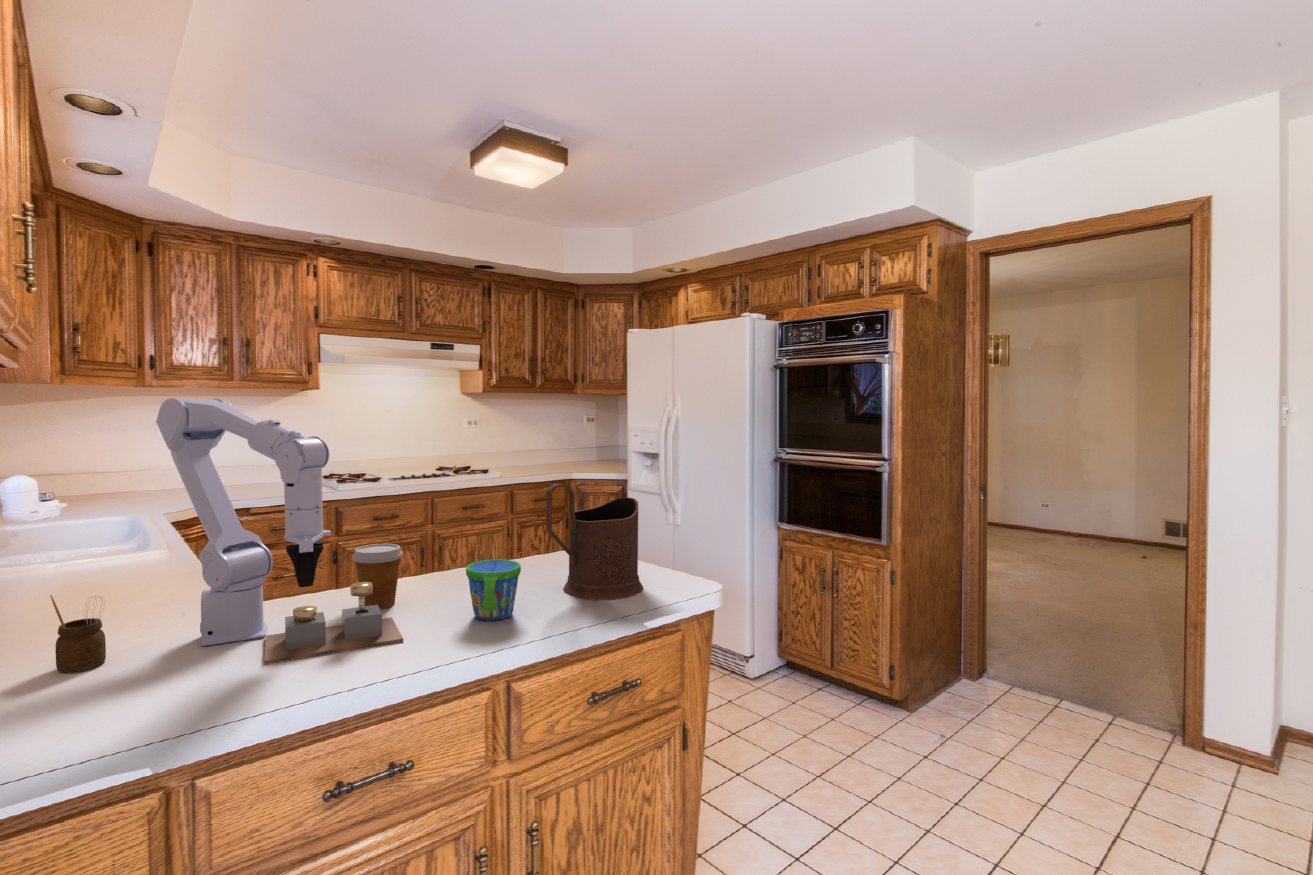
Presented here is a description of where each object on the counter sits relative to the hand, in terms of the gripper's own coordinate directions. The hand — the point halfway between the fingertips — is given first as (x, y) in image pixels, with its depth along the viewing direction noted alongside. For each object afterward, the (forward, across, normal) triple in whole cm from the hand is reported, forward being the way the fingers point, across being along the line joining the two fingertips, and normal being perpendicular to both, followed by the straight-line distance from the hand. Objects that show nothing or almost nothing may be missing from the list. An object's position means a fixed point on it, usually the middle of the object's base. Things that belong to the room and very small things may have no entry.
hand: (305, 585), depth 113 cm
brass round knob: (+7, 0, -9) cm, 11 cm away
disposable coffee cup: (+11, +18, -14) cm, 25 cm away
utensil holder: (+10, +6, +31) cm, 34 cm away
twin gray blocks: (+10, 0, -4) cm, 11 cm away
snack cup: (+11, 0, -33) cm, 34 cm away
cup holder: (+11, +7, -58) cm, 59 cm away
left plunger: (+10, 0, 0) cm, 10 cm away
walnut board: (+10, 0, -4) cm, 11 cm away
